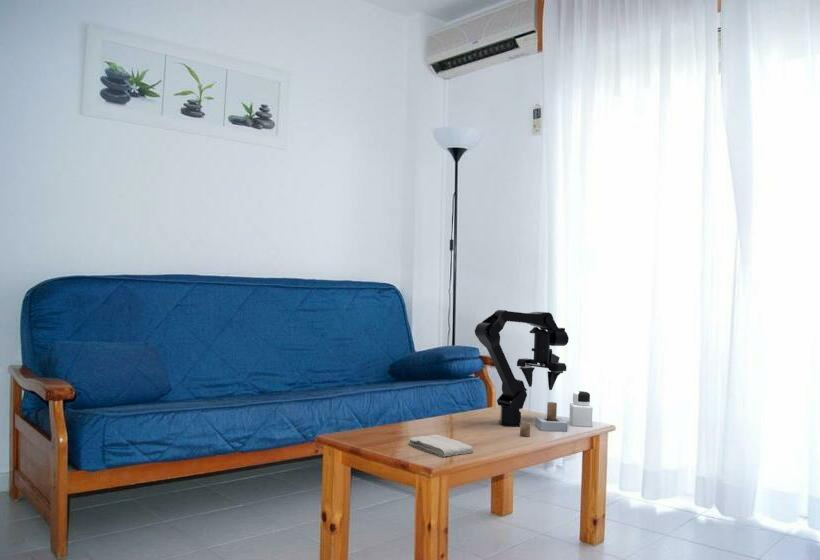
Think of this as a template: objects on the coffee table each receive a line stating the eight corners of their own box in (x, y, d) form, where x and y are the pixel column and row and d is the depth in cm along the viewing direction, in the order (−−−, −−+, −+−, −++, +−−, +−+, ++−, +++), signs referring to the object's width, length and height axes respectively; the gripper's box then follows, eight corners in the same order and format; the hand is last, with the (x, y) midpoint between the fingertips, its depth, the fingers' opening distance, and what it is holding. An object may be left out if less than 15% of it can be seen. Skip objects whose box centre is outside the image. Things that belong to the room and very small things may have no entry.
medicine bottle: (588, 423, 240) (589, 390, 240) (592, 427, 233) (593, 393, 233) (569, 422, 240) (570, 389, 241) (572, 425, 233) (573, 392, 234)
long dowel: (547, 429, 225) (548, 403, 225) (545, 427, 228) (546, 402, 228) (556, 429, 225) (557, 403, 225) (554, 427, 228) (555, 402, 229)
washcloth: (435, 441, 201) (436, 431, 201) (475, 454, 187) (475, 443, 187) (405, 445, 194) (405, 435, 194) (443, 459, 180) (444, 448, 180)
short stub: (520, 436, 211) (521, 424, 211) (519, 434, 215) (519, 422, 215) (530, 437, 211) (531, 424, 212) (528, 434, 215) (529, 422, 215)
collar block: (541, 430, 222) (541, 422, 222) (535, 425, 231) (536, 417, 231) (567, 431, 222) (567, 423, 222) (560, 426, 231) (561, 418, 231)
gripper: (576, 347, 236) (574, 390, 236) (535, 343, 250) (533, 383, 250) (557, 348, 229) (556, 392, 228) (516, 344, 243) (515, 385, 242)
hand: (540, 388), depth 237 cm, fingers open, 9 cm apart
